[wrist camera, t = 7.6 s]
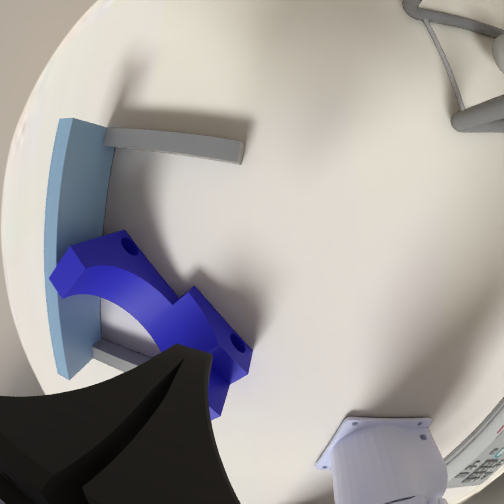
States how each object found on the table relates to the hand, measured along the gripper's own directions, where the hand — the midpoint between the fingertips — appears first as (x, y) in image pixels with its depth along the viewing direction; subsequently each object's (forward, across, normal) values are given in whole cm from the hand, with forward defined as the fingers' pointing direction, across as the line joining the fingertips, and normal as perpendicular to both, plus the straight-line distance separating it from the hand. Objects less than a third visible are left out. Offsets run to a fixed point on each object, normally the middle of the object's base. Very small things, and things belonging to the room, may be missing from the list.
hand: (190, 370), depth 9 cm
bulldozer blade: (+9, +6, 0) cm, 11 cm away
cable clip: (+9, +4, +2) cm, 10 cm away
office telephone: (+10, -41, +17) cm, 45 cm away
